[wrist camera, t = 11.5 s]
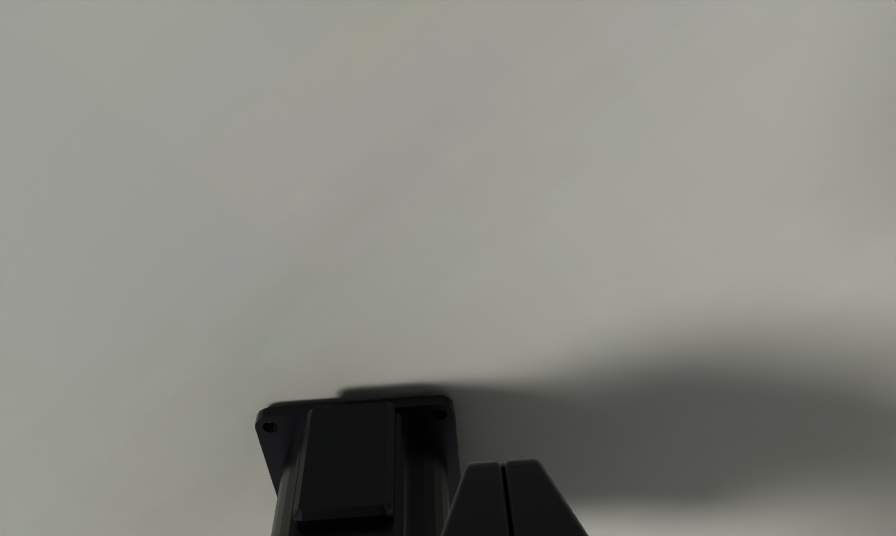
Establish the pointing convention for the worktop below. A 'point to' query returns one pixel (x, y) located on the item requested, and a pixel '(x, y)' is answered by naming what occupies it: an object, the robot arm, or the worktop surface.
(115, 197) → the worktop surface
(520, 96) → the worktop surface
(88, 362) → the worktop surface
